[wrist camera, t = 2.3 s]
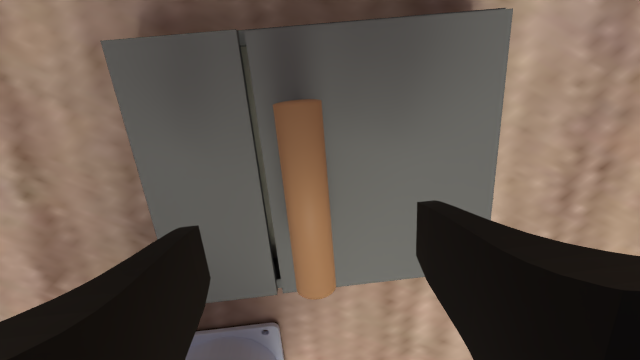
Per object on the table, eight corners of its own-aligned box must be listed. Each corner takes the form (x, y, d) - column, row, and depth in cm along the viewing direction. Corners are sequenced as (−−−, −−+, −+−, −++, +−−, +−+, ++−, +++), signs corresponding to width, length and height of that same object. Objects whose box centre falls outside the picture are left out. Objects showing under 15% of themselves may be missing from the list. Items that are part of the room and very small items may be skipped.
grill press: (283, 286, 20) (280, 353, 15) (246, 32, 15) (225, 21, 10) (479, 263, 20) (533, 322, 16) (504, 10, 15) (591, -9, 11)
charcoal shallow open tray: (194, 269, 22) (176, 306, 19) (137, 43, 18) (100, 40, 14) (457, 239, 23) (485, 270, 20) (473, 15, 18) (513, 6, 15)
